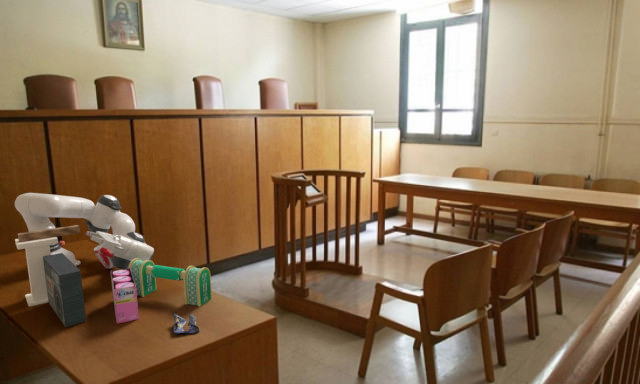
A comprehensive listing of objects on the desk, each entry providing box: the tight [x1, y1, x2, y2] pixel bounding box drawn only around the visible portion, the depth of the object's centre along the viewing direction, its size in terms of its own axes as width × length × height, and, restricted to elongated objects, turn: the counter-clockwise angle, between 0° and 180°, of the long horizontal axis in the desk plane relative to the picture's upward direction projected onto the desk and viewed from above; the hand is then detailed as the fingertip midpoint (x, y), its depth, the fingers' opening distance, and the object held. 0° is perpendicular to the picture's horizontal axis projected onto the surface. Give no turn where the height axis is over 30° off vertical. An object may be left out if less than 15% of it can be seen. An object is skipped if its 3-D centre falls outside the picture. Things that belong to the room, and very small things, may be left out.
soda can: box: [93, 244, 115, 270], centre depth 224 cm, size 7×7×12 cm
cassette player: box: [43, 253, 87, 328], centre depth 176 cm, size 29×7×20 cm, turn 41°
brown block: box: [17, 224, 81, 242], centre depth 189 cm, size 22×3×3 cm, turn 127°
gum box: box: [110, 268, 140, 324], centre depth 178 cm, size 24×8×14 cm, turn 27°
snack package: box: [173, 312, 200, 335], centre depth 162 cm, size 12×6×12 cm
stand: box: [14, 236, 59, 307], centre depth 188 cm, size 14×12×26 cm
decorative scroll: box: [128, 258, 213, 307], centre depth 189 cm, size 36×8×15 cm, turn 69°
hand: (88, 235), depth 197 cm, fingers open, 8 cm apart
